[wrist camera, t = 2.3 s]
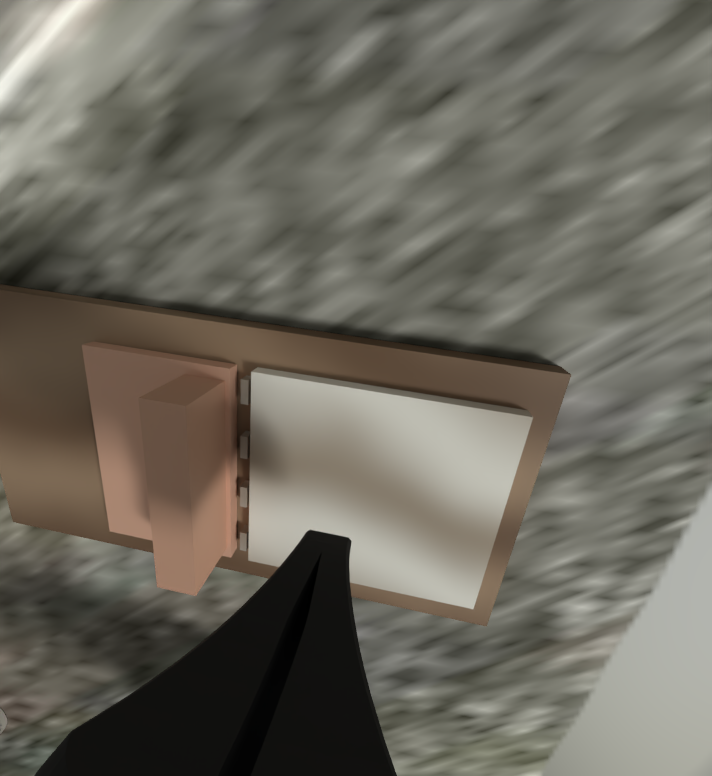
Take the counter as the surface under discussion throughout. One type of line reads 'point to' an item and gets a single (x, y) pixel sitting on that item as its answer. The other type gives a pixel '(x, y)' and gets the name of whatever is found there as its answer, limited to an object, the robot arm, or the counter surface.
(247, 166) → the counter surface
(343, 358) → the board
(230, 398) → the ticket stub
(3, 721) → the coffee cup
